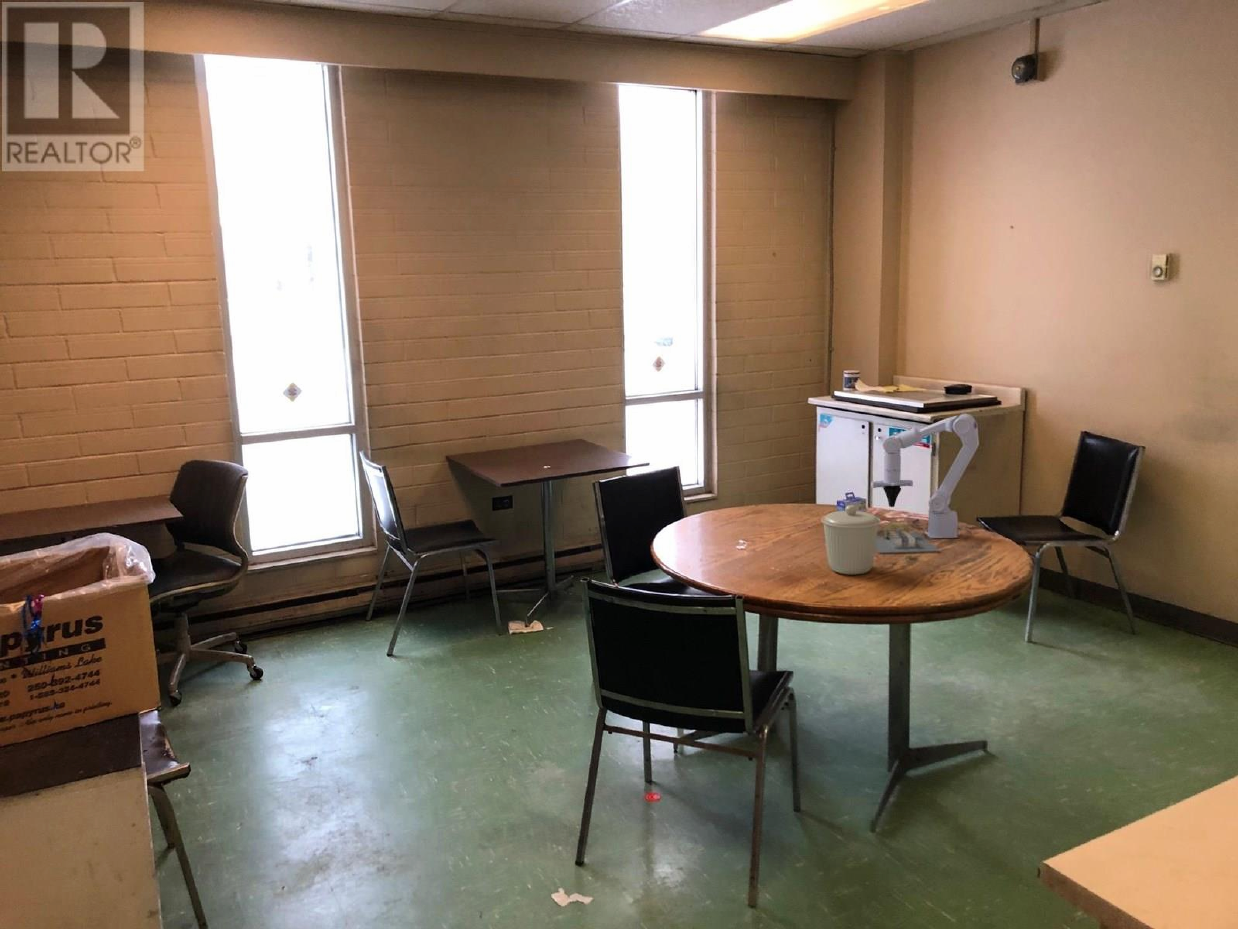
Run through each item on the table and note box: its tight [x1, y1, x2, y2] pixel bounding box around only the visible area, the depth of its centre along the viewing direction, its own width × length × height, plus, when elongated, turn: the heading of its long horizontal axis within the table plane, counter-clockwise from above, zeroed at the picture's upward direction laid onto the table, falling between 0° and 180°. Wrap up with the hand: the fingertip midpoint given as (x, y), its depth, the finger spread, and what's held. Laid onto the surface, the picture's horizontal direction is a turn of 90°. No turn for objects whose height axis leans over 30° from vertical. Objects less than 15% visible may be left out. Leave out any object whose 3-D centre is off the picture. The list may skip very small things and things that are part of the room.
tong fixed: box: [896, 529, 915, 548], centre depth 336 cm, size 2×16×3 cm, turn 179°
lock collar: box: [881, 521, 910, 539], centre depth 341 cm, size 8×3×5 cm, turn 89°
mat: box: [875, 530, 941, 555], centre depth 337 cm, size 20×26×1 cm
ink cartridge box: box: [836, 491, 867, 513], centre depth 352 cm, size 10×6×14 cm, turn 115°
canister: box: [821, 505, 882, 576], centre depth 306 cm, size 18×18×21 cm
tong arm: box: [887, 529, 902, 548], centre depth 336 cm, size 2×16×3 cm, turn 177°
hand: (891, 506), depth 350 cm, fingers closed
